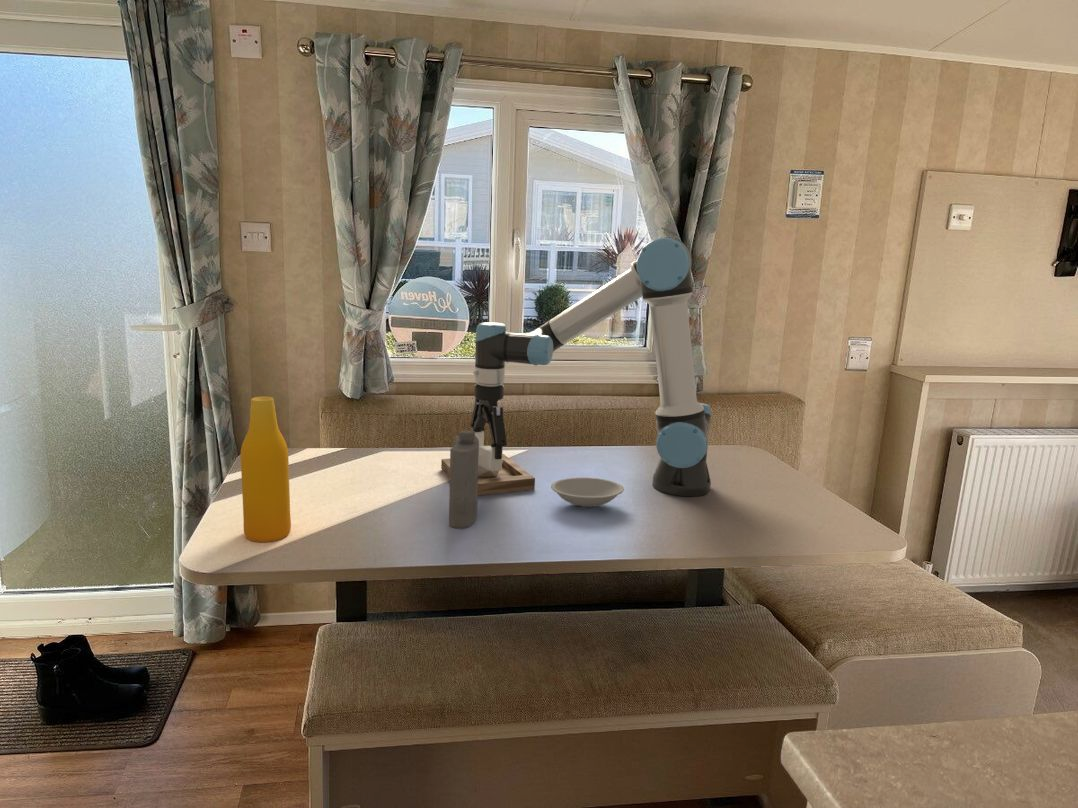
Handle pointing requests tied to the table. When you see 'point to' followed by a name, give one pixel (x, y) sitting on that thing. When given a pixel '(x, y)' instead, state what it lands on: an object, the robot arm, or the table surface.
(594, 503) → the dish
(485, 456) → the die
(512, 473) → the tray
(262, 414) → the beer bottle
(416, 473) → the table surface
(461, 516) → the flask
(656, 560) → the table surface
